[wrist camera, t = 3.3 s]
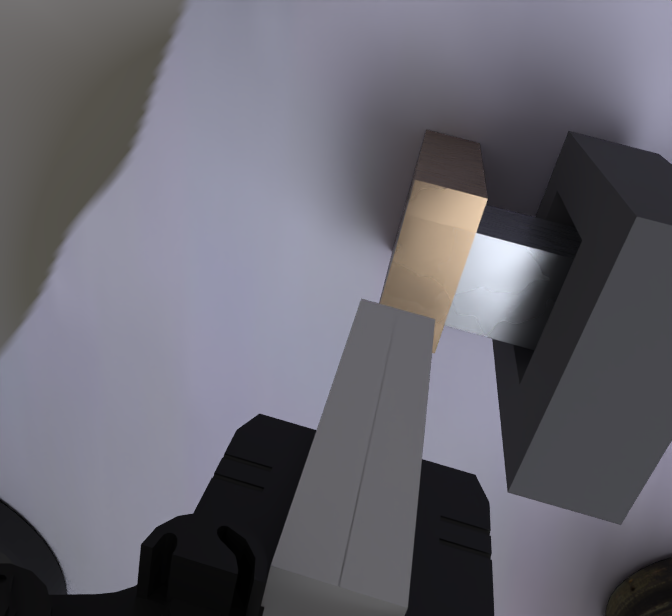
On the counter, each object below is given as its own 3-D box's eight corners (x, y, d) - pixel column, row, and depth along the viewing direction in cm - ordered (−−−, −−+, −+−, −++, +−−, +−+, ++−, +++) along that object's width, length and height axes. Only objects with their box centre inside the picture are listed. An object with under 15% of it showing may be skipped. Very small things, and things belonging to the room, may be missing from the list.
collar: (491, 330, 25) (507, 492, 17) (568, 130, 21) (636, 216, 13) (567, 351, 24) (620, 524, 16) (658, 154, 21) (783, 254, 13)
